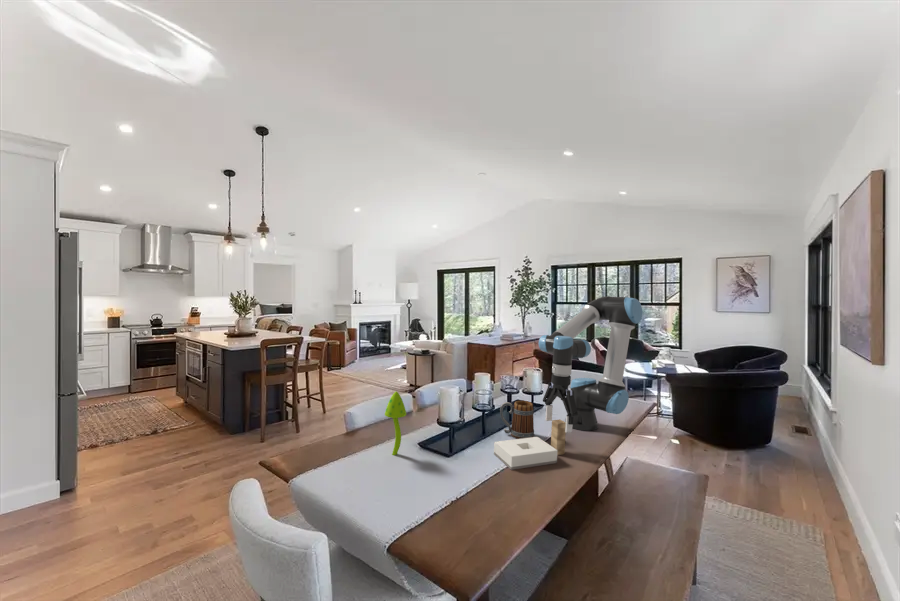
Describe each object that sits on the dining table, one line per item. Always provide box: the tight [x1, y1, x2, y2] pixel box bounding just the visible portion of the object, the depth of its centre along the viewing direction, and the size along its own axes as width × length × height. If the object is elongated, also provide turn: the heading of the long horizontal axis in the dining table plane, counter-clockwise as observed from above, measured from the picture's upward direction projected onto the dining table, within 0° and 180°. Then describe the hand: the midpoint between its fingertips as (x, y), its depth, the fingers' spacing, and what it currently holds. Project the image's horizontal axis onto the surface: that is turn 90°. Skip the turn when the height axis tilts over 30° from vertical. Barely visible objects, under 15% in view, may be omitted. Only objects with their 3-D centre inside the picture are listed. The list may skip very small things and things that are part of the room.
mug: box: [499, 400, 535, 439], centre depth 183 cm, size 16×11×15 cm
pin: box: [550, 419, 567, 456], centre depth 166 cm, size 4×4×13 cm
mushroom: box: [384, 391, 407, 456], centre depth 159 cm, size 8×8×25 cm
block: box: [493, 436, 558, 471], centre depth 160 cm, size 20×14×5 cm
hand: (558, 426), depth 166 cm, fingers open, 13 cm apart
